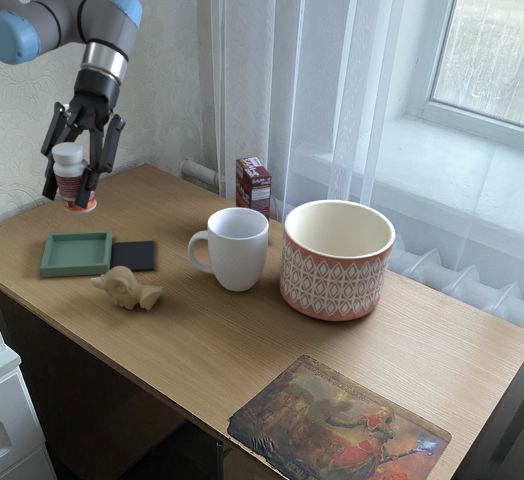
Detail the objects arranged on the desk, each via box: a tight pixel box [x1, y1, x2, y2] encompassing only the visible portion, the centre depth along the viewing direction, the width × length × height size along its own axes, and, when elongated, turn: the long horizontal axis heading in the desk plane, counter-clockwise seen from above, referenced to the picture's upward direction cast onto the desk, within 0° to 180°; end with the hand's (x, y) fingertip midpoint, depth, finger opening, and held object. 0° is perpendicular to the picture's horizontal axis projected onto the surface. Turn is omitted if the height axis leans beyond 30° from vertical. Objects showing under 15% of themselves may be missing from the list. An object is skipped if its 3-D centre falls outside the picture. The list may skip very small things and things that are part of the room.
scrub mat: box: [112, 240, 155, 273], centre depth 109 cm, size 10×8×1 cm
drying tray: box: [39, 230, 113, 278], centre depth 108 cm, size 13×13×2 cm
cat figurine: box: [90, 266, 165, 311], centre depth 96 cm, size 8×7×12 cm
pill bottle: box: [52, 142, 98, 215], centre depth 97 cm, size 6×6×11 cm
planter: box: [279, 199, 396, 322], centre depth 98 cm, size 19×19×15 cm
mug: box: [187, 207, 269, 292], centre depth 100 cm, size 15×11×13 cm
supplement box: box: [235, 156, 273, 234], centre depth 111 cm, size 9×5×16 cm, turn 22°
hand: (64, 201), depth 96 cm, fingers closed on pill bottle, 6 cm apart
